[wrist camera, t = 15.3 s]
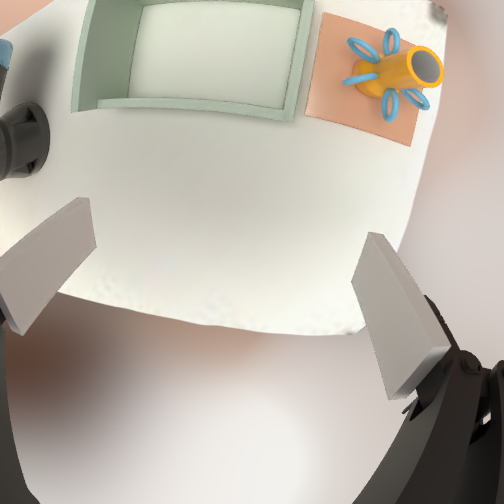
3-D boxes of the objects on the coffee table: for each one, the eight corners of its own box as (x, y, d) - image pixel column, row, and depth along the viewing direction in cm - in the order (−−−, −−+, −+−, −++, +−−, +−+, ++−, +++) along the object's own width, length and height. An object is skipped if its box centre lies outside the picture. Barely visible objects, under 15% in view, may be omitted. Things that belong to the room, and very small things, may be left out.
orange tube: (422, 83, 27) (487, 83, 14) (384, 132, 32) (440, 152, 19) (356, 25, 24) (398, -11, 11) (314, 75, 29) (340, 55, 16)
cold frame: (120, 105, 33) (70, 112, 23) (138, 0, 24) (96, -22, 14) (289, 120, 33) (296, 125, 23) (310, 5, 24) (323, -31, 14)
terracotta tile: (304, 114, 33) (305, 114, 32) (322, 14, 25) (323, 12, 24) (407, 145, 33) (410, 146, 32) (424, 52, 25) (427, 51, 24)
